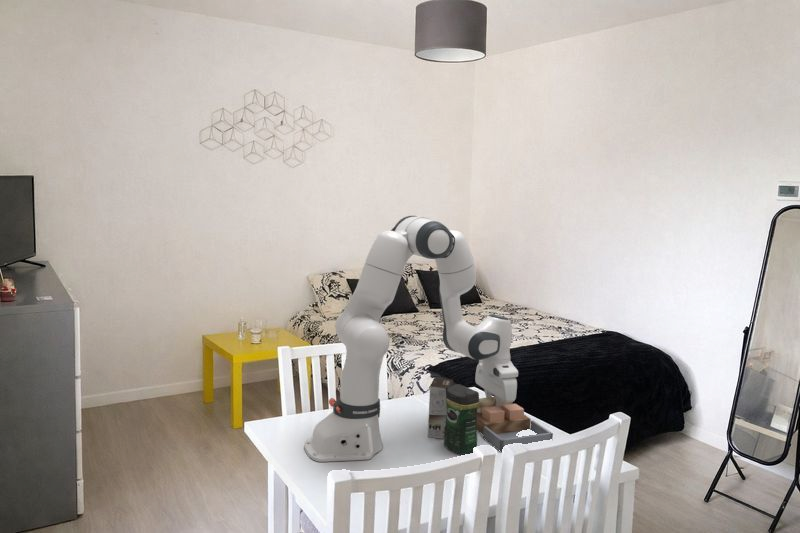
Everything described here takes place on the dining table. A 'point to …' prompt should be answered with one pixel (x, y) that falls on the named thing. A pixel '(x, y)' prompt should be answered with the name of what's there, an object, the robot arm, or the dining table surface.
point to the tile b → (513, 411)
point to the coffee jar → (461, 419)
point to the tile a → (493, 414)
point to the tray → (511, 437)
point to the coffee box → (438, 407)
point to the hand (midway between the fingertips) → (493, 406)
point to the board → (503, 424)
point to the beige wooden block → (488, 403)
